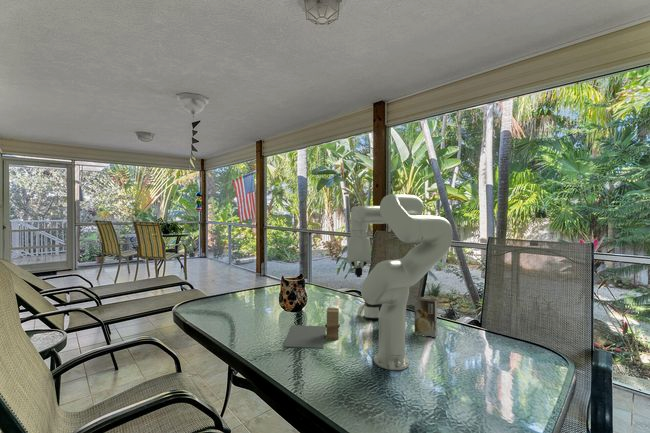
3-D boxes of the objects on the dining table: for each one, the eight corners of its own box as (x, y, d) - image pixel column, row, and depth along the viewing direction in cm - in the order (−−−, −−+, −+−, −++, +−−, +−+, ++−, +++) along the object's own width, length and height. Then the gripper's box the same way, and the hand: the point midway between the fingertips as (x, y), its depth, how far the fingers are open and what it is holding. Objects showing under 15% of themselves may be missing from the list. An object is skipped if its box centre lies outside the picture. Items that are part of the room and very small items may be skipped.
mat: (323, 348, 128) (323, 347, 128) (283, 347, 128) (283, 346, 128) (325, 327, 152) (325, 326, 152) (292, 326, 152) (292, 325, 152)
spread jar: (380, 321, 160) (381, 298, 160) (358, 321, 161) (358, 298, 161) (377, 314, 172) (377, 292, 172) (356, 313, 173) (356, 292, 173)
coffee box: (437, 333, 145) (438, 298, 145) (435, 338, 140) (435, 301, 139) (416, 330, 149) (417, 295, 149) (413, 334, 144) (414, 299, 144)
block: (338, 339, 137) (338, 311, 137) (326, 339, 137) (326, 311, 137) (338, 335, 142) (338, 308, 142) (327, 334, 142) (327, 307, 142)
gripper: (375, 234, 142) (374, 275, 142) (342, 233, 143) (341, 274, 143) (377, 235, 134) (376, 279, 135) (342, 234, 135) (341, 278, 135)
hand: (358, 276), depth 139 cm, fingers closed
